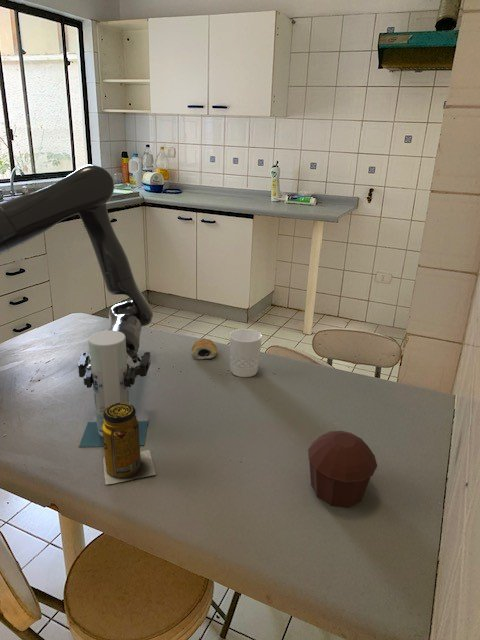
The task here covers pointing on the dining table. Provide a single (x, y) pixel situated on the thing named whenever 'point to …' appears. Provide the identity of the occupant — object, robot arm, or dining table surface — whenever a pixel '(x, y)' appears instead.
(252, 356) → the white cup
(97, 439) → the mat
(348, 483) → the muffin
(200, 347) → the pastry
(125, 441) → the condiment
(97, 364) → the spray can
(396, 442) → the dining table surface
